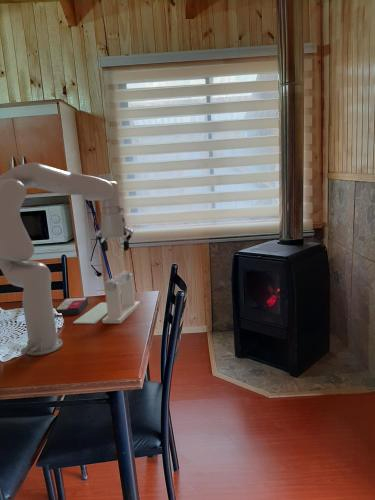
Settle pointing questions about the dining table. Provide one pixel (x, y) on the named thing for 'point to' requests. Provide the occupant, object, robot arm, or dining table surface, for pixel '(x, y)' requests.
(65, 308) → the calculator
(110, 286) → the rail
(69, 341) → the dining table surface
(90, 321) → the mat
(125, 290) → the rack
